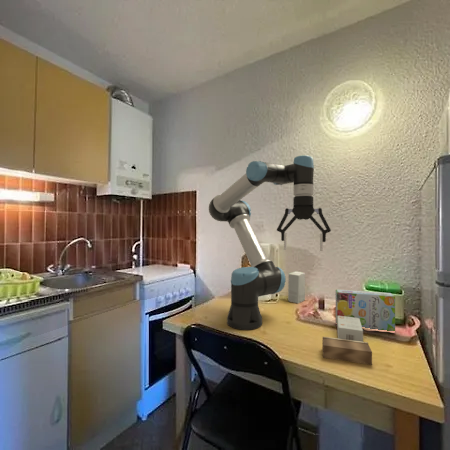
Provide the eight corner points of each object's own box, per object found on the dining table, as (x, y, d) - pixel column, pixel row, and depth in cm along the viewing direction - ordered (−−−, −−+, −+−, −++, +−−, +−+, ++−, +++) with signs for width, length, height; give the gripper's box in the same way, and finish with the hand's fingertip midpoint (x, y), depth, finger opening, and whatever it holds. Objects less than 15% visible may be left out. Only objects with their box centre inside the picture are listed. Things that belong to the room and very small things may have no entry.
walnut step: (323, 357, 85) (323, 344, 85) (322, 348, 91) (322, 336, 91) (371, 364, 81) (372, 351, 81) (367, 355, 86) (367, 342, 86)
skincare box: (295, 298, 151) (295, 271, 151) (305, 300, 146) (306, 272, 146) (287, 301, 145) (287, 273, 144) (298, 303, 140) (298, 274, 140)
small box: (363, 349, 91) (359, 333, 103) (363, 330, 91) (359, 317, 103) (337, 344, 94) (337, 330, 106) (337, 327, 94) (337, 314, 106)
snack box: (390, 329, 108) (391, 292, 108) (395, 334, 103) (395, 296, 102) (335, 323, 114) (335, 288, 114) (336, 328, 109) (337, 291, 108)
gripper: (270, 195, 104) (269, 249, 104) (338, 194, 96) (338, 252, 96) (272, 197, 111) (272, 247, 111) (336, 196, 103) (336, 250, 104)
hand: (302, 249), depth 104 cm, fingers open, 13 cm apart
